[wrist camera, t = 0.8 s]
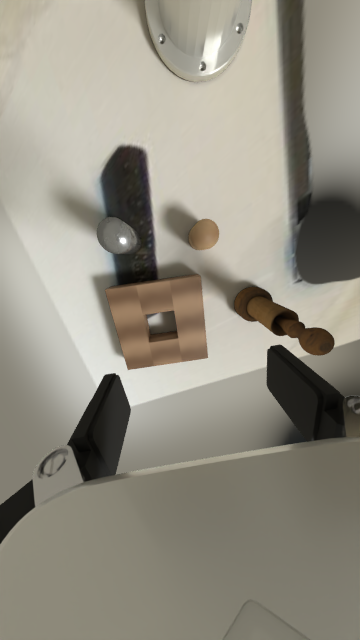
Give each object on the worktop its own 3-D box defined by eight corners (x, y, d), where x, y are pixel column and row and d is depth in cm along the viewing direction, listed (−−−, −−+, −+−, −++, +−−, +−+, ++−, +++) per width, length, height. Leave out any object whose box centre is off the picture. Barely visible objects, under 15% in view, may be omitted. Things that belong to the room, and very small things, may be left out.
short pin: (186, 226, 29) (190, 221, 25) (210, 223, 29) (218, 217, 25) (189, 251, 31) (193, 251, 26) (211, 248, 31) (219, 247, 26)
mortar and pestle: (232, 318, 36) (288, 374, 19) (235, 286, 33) (303, 318, 17) (263, 317, 36) (346, 372, 19) (269, 286, 34) (368, 317, 17)
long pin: (114, 229, 29) (92, 219, 21) (138, 226, 29) (126, 214, 21) (120, 255, 30) (102, 255, 22) (143, 252, 30) (133, 251, 22)
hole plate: (111, 286, 32) (104, 289, 29) (197, 274, 32) (200, 276, 29) (131, 359, 38) (127, 369, 34) (204, 349, 38) (207, 358, 35)
